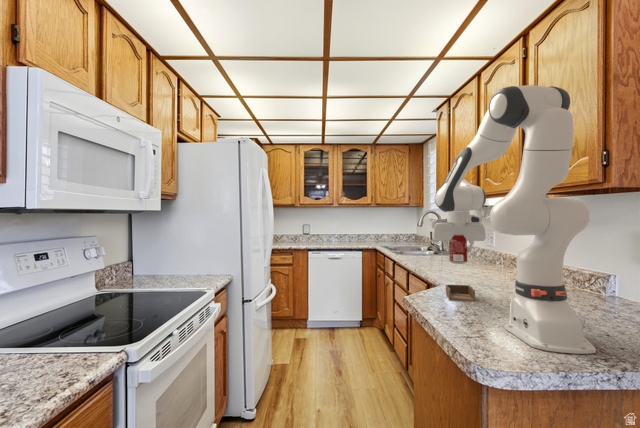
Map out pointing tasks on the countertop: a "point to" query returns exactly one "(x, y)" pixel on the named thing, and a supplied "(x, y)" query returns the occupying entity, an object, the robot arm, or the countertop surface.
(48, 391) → the countertop surface
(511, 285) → the countertop surface
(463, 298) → the can rest
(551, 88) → the robot arm
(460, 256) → the soda can
